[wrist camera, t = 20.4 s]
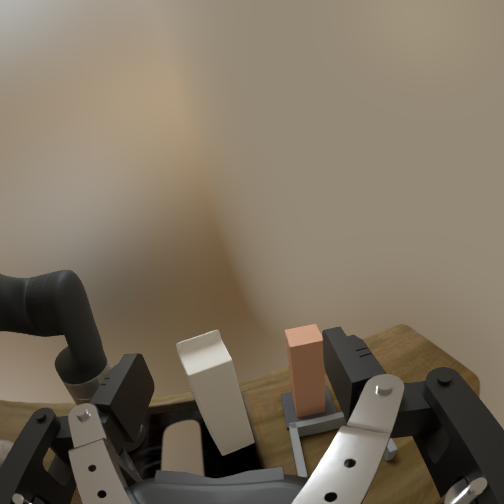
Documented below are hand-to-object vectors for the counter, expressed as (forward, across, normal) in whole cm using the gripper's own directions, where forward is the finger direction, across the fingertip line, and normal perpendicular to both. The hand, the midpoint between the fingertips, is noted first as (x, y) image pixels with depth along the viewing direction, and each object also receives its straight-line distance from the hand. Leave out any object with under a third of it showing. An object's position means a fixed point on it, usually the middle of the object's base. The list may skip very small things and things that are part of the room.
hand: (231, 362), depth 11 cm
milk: (+20, +7, +32) cm, 39 cm away
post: (+25, -7, +31) cm, 41 cm away
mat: (+25, -7, +32) cm, 41 cm away
